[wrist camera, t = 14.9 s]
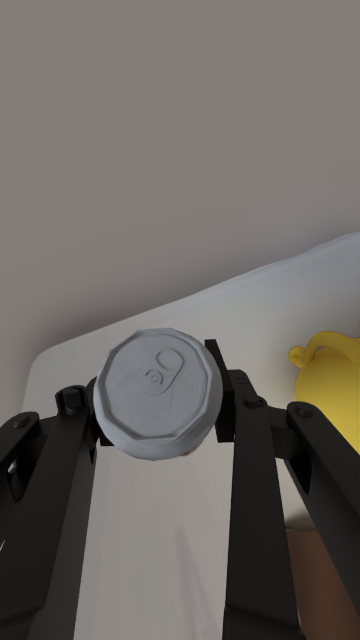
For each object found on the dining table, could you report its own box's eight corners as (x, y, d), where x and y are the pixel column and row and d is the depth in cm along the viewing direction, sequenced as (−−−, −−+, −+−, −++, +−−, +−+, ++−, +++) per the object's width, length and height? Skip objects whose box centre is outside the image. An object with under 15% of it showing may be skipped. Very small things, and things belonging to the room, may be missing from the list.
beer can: (132, 433, 18) (52, 401, 8) (167, 380, 20) (140, 298, 10) (185, 473, 17) (175, 500, 6) (218, 411, 19) (250, 356, 8)
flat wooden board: (300, 677, 20) (314, 704, 18) (275, 525, 25) (282, 532, 23) (421, 676, 20) (449, 703, 18) (371, 523, 25) (388, 529, 23)
